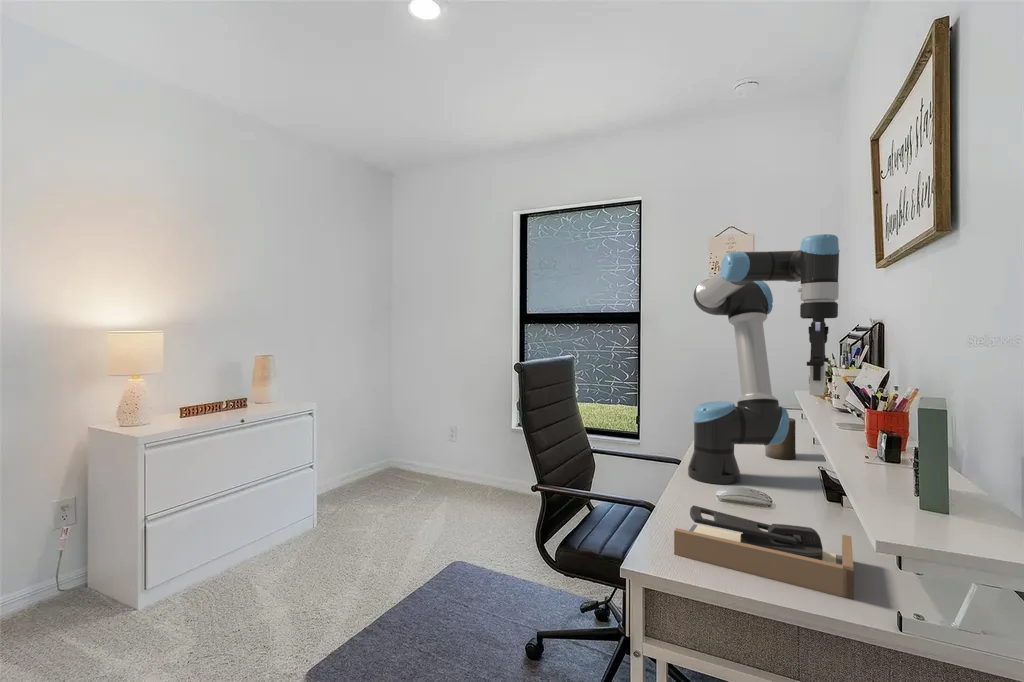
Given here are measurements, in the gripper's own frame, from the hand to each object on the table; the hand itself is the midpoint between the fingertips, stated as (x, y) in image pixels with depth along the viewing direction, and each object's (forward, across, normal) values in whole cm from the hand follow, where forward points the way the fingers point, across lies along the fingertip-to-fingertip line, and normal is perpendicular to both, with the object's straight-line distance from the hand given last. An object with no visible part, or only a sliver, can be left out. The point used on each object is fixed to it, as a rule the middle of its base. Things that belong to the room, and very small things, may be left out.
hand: (817, 391), depth 115 cm
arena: (+32, +26, -10) cm, 42 cm away
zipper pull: (+31, +24, -10) cm, 41 cm away
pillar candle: (+32, -63, -13) cm, 72 cm away
